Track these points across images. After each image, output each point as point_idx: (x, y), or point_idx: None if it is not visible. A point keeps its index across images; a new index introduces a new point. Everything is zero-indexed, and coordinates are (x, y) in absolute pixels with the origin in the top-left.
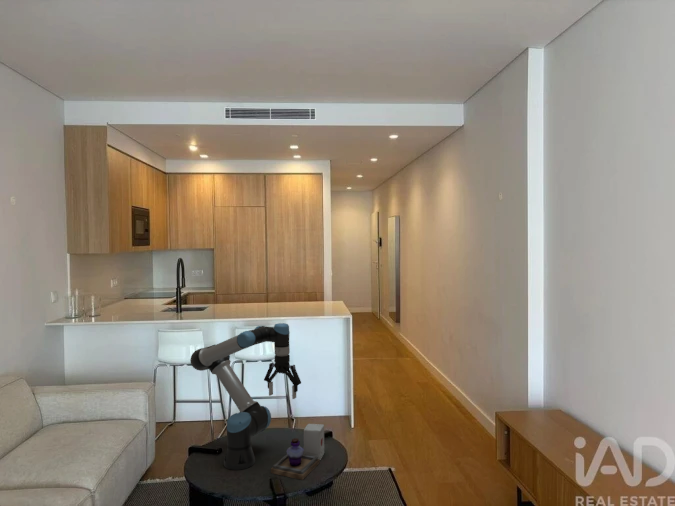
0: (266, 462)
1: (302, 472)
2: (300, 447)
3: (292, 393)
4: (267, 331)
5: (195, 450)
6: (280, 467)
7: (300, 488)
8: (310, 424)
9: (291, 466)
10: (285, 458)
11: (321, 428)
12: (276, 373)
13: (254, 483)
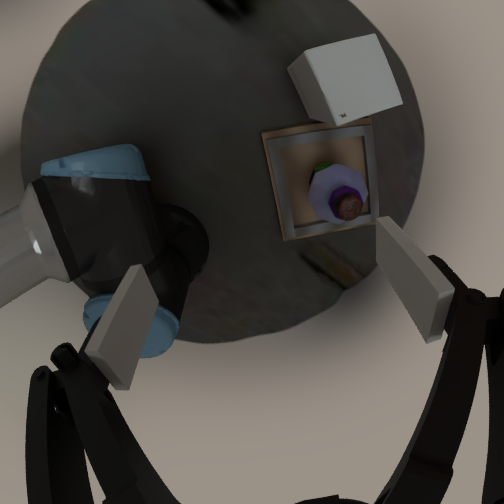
0: (224, 198)
1: None
2: (349, 177)
3: (396, 289)
4: None
5: None
6: (311, 233)
7: None
8: (323, 57)
9: None
10: (285, 181)
11: (392, 76)
12: (154, 485)
13: (282, 288)
